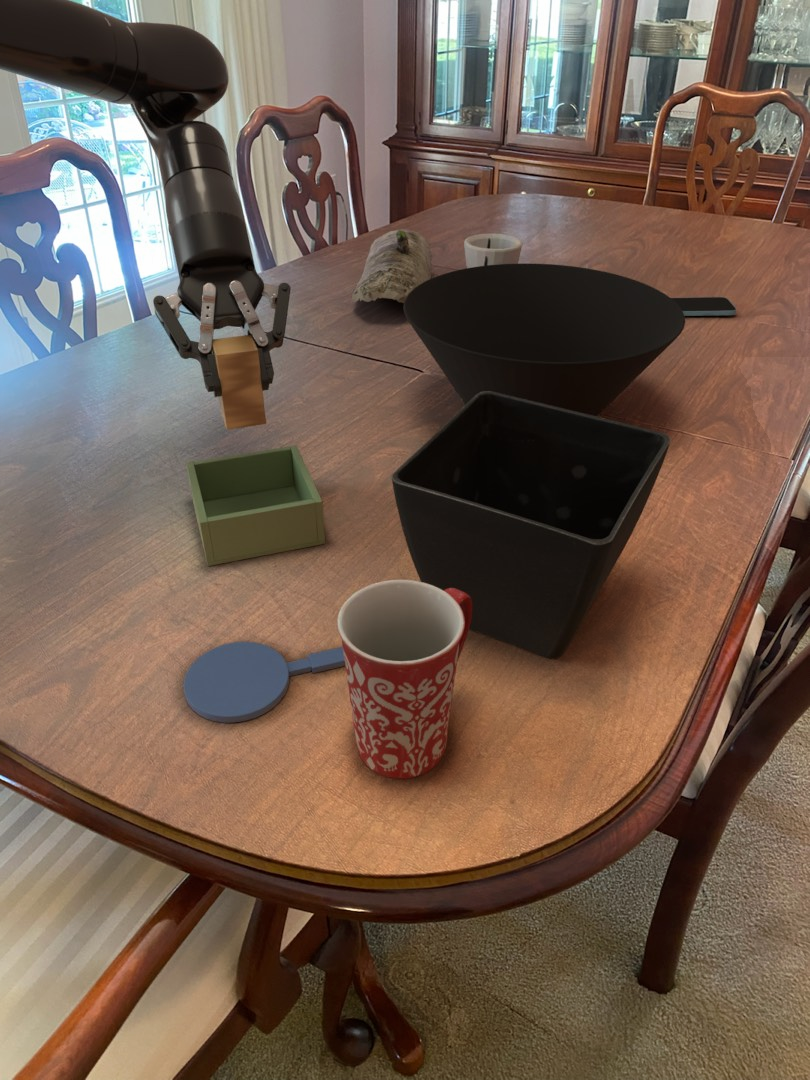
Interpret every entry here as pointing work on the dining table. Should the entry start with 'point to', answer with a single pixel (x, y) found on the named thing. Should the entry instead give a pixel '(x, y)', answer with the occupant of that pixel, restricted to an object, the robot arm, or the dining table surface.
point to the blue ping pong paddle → (247, 679)
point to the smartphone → (705, 306)
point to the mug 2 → (491, 250)
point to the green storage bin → (255, 504)
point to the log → (394, 266)
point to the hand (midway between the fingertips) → (242, 390)
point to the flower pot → (525, 512)
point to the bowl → (542, 331)
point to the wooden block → (239, 381)
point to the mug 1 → (402, 671)
